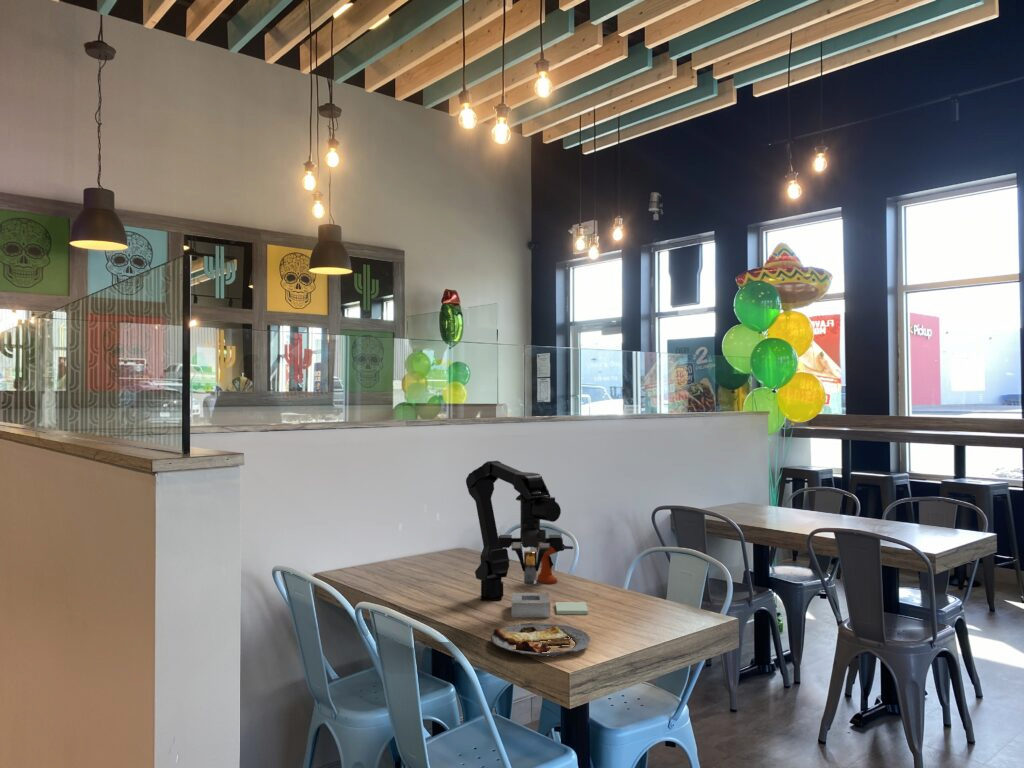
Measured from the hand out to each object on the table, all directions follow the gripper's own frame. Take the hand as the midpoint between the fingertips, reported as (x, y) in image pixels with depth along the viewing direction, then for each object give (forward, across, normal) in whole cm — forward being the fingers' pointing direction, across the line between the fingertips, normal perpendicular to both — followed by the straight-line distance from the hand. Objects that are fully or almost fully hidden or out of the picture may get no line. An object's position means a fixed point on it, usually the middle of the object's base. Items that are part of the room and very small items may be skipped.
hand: (530, 570), depth 225 cm
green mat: (+12, +12, +2) cm, 17 cm away
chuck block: (+12, 0, 0) cm, 12 cm away
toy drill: (+12, +9, +32) cm, 36 cm away
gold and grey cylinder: (+4, 0, 0) cm, 4 cm away
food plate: (+12, +2, -29) cm, 32 cm away
